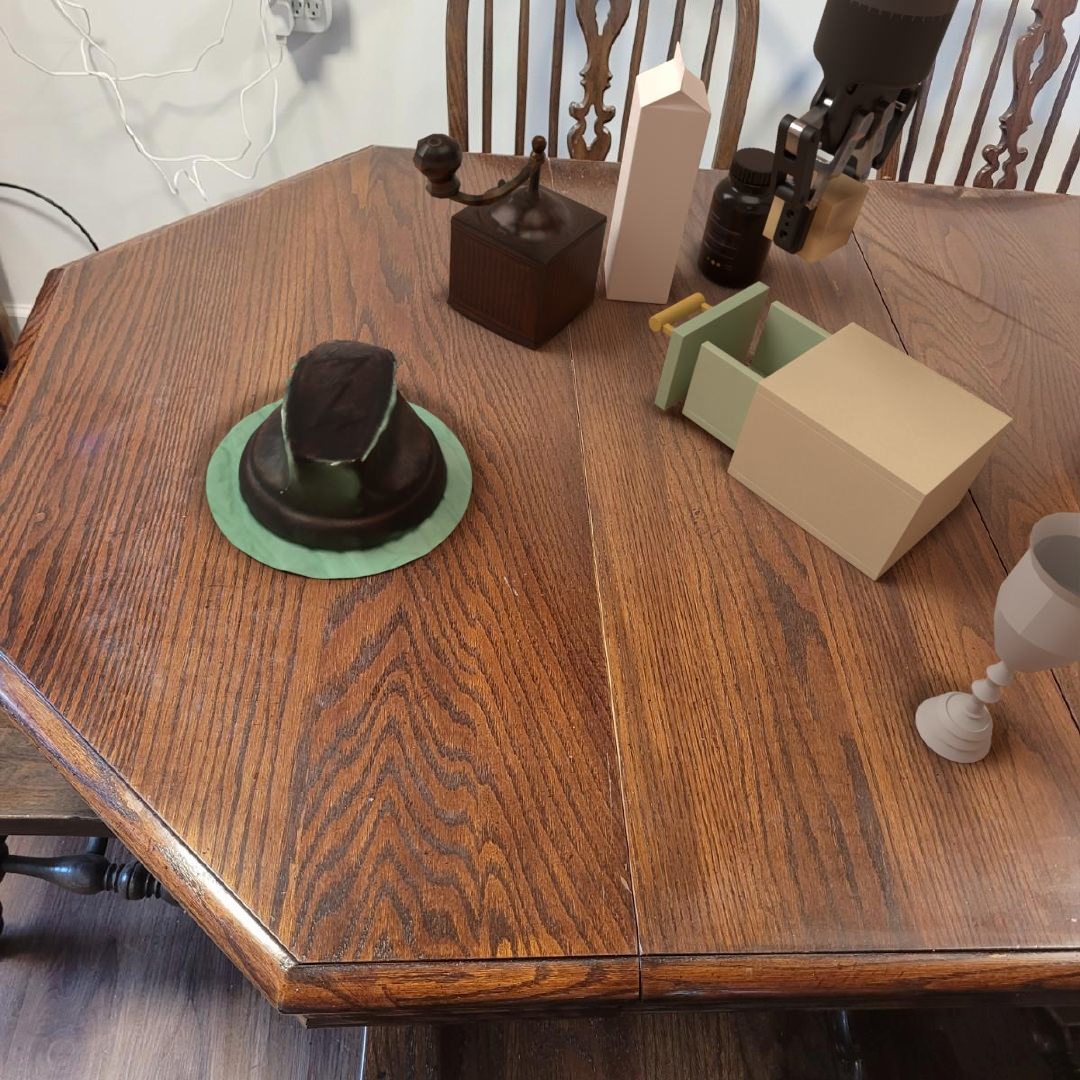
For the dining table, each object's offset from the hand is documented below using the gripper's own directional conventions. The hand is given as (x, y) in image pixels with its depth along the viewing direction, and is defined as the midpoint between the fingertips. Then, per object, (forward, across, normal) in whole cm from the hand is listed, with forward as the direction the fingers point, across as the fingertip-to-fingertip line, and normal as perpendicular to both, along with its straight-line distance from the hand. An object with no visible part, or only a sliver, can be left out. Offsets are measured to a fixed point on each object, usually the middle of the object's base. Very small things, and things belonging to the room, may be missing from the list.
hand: (807, 236), depth 70 cm
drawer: (+16, -1, 0) cm, 16 cm away
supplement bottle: (+17, +16, +15) cm, 28 cm away
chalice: (+17, -14, -29) cm, 37 cm away
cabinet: (+17, -1, -11) cm, 20 cm away
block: (0, 0, 0) cm, 0 cm away
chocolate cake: (+18, -32, +15) cm, 40 cm away
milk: (+17, +6, +19) cm, 26 cm away
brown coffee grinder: (+18, -8, +23) cm, 30 cm away
